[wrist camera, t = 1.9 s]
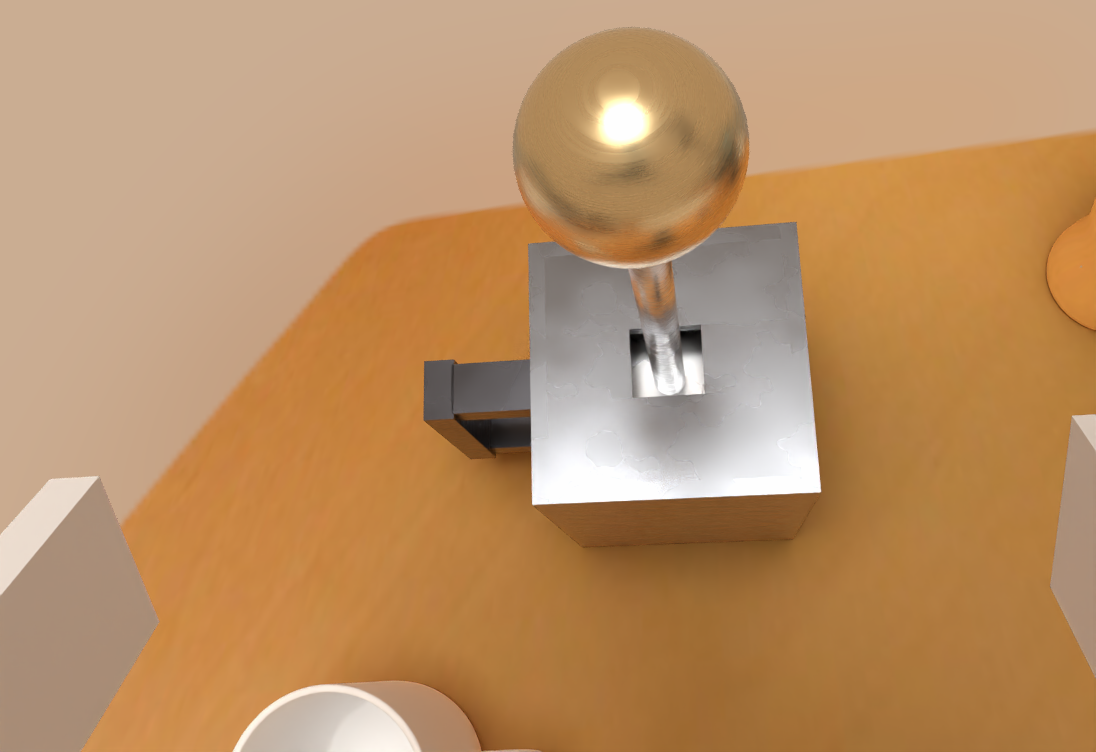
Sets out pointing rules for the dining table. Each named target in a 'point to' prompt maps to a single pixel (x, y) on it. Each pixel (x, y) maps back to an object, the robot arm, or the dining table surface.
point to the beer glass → (1075, 270)
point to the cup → (363, 721)
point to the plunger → (635, 174)
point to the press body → (653, 399)
